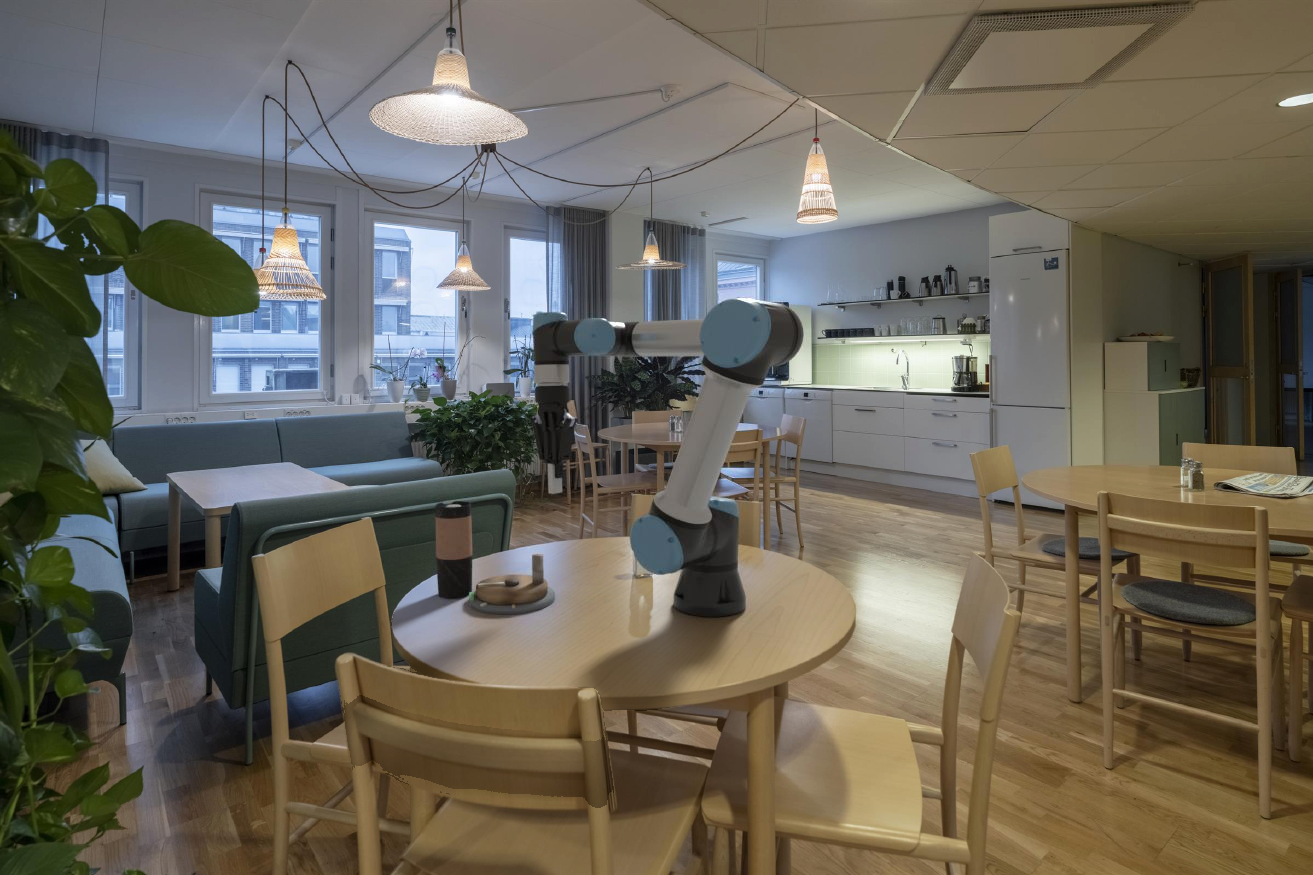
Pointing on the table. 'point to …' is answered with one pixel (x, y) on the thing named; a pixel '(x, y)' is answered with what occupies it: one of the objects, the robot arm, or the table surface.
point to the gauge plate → (511, 609)
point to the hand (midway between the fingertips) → (555, 492)
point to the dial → (515, 586)
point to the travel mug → (454, 549)
